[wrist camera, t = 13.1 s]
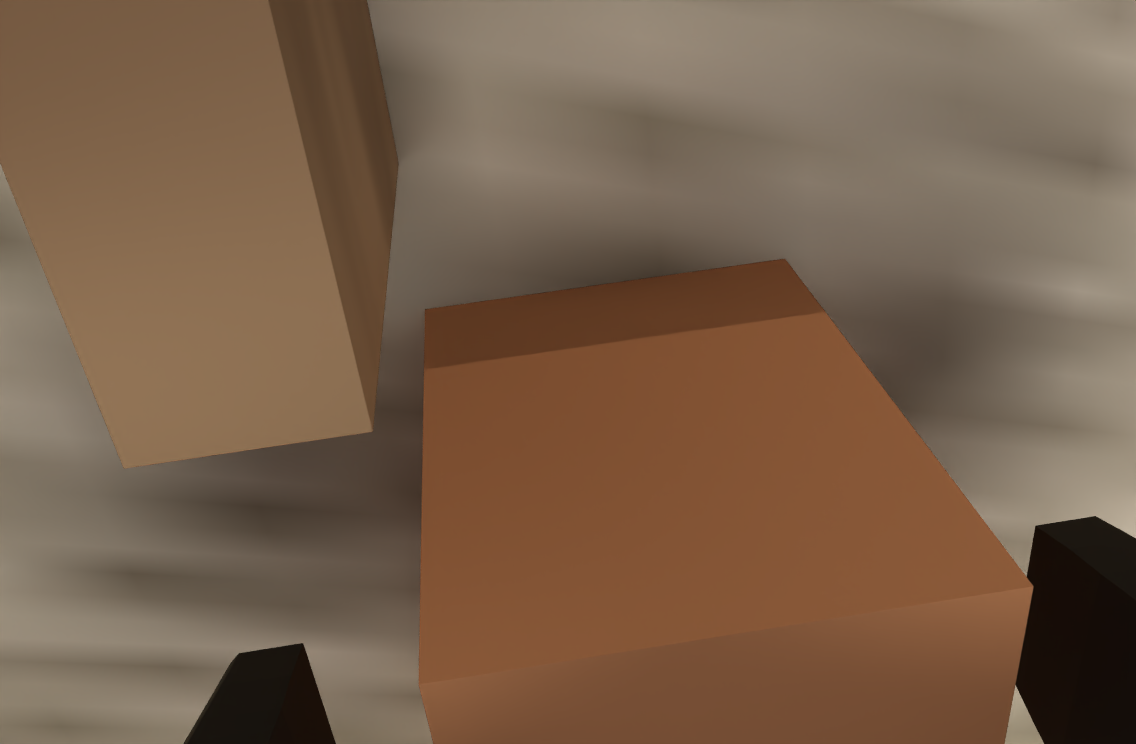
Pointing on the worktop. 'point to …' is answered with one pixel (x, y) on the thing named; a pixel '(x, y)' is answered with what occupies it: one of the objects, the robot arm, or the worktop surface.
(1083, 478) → the worktop surface
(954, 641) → the wedge
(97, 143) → the brown rectangular block
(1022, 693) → the robot arm
